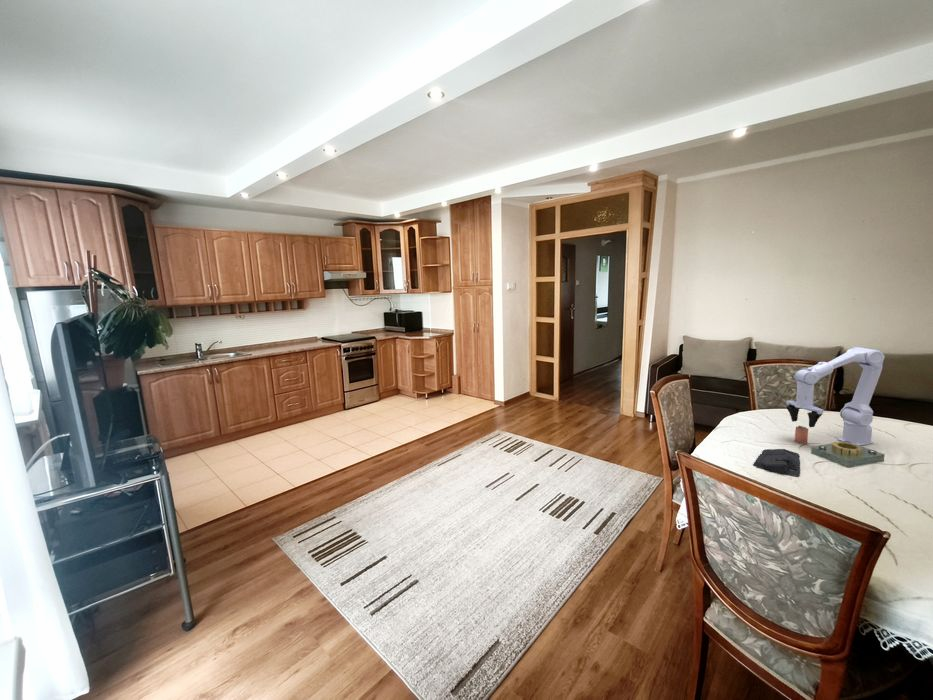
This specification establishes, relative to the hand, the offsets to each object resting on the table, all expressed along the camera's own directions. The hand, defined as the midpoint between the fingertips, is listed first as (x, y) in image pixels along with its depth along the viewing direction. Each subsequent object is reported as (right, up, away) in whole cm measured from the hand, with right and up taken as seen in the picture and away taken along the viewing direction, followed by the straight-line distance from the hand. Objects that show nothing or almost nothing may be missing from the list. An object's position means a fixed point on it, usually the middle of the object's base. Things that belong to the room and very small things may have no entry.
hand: (802, 423), depth 172 cm
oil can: (+2, -9, +3) cm, 10 cm away
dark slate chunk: (-22, -15, -13) cm, 30 cm away
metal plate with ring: (+7, -12, -13) cm, 19 cm away
